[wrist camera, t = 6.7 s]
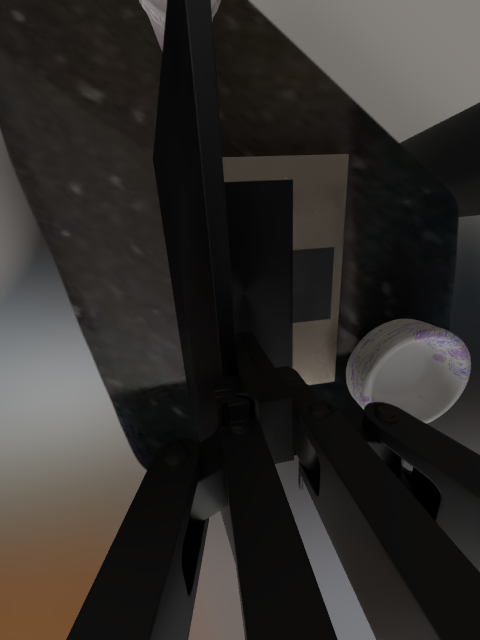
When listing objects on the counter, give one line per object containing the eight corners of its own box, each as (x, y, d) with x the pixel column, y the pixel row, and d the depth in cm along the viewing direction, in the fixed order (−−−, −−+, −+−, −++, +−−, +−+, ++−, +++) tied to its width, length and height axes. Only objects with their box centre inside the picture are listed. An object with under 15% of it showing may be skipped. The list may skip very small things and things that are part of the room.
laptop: (340, 159, 30) (349, 153, 28) (328, 375, 39) (335, 381, 37) (164, 164, 27) (161, 158, 26) (196, 393, 37) (195, 401, 35)
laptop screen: (208, -86, 7) (175, -98, 7) (255, 582, 16) (242, 589, 16) (161, 158, 26) (152, 158, 25) (195, 401, 35) (189, 402, 35)
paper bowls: (320, 390, 40) (348, 424, 32) (358, 301, 36) (399, 316, 28) (396, 404, 43) (437, 438, 35) (438, 324, 39) (494, 344, 32)
